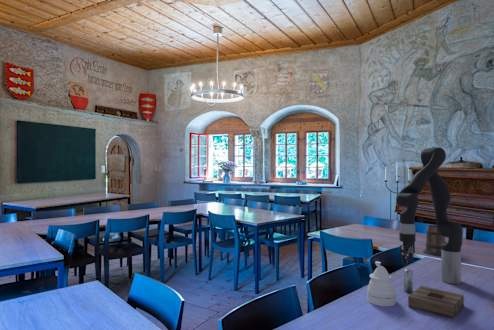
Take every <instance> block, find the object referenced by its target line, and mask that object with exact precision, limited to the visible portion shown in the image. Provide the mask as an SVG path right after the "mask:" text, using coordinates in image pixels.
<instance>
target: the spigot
mask: <svg viewBox="0 0 494 330" xmlns="http://www.w3.org/2000/svg"><path fill="white" fill-rule="evenodd" d="M413 281H414V280H413V269H411V268H404V269H403V291H404V293H407V294H412V293H413V292H414V289H413V288H414V287H413Z"/></svg>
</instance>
